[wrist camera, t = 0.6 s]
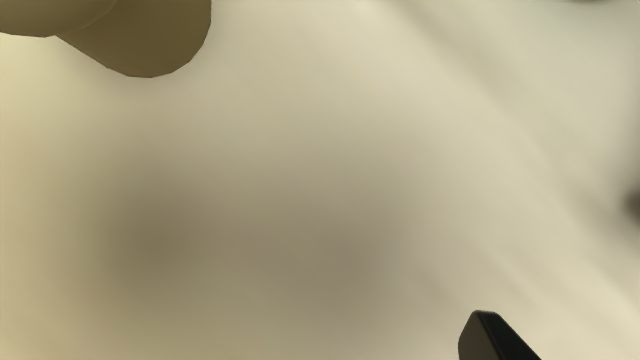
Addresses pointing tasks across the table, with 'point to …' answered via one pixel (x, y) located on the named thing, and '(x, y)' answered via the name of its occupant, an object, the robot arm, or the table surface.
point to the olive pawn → (117, 30)
